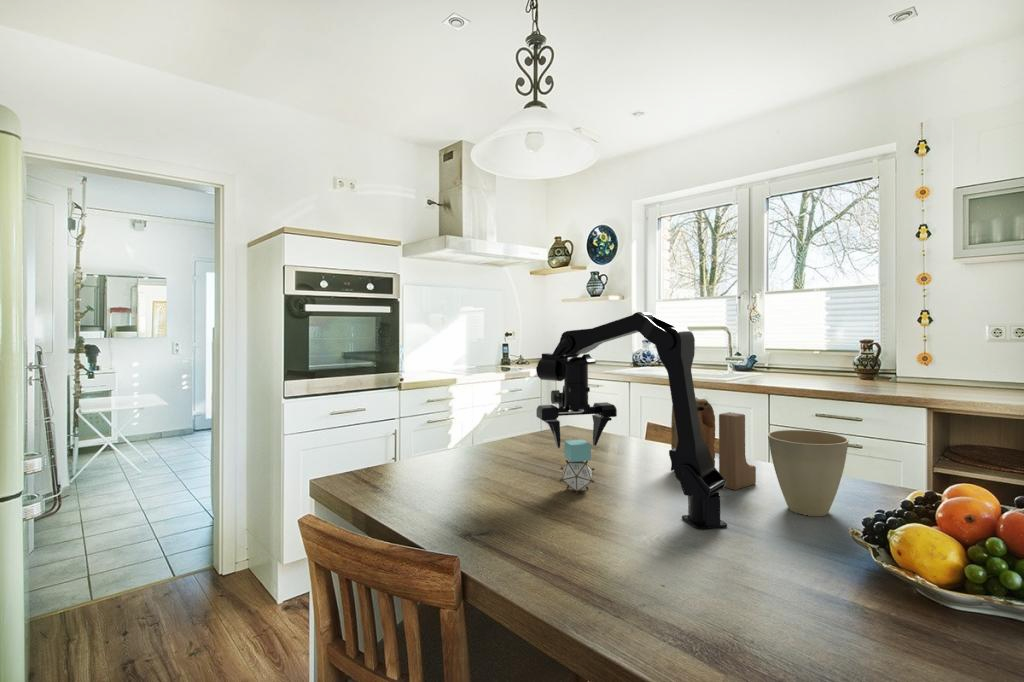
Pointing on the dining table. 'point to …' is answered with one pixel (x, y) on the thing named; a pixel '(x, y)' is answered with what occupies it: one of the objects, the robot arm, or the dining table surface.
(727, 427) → the wooden block
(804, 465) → the plant pot
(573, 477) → the game die
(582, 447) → the teal block
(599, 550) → the dining table surface
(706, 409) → the wooden upright piece
